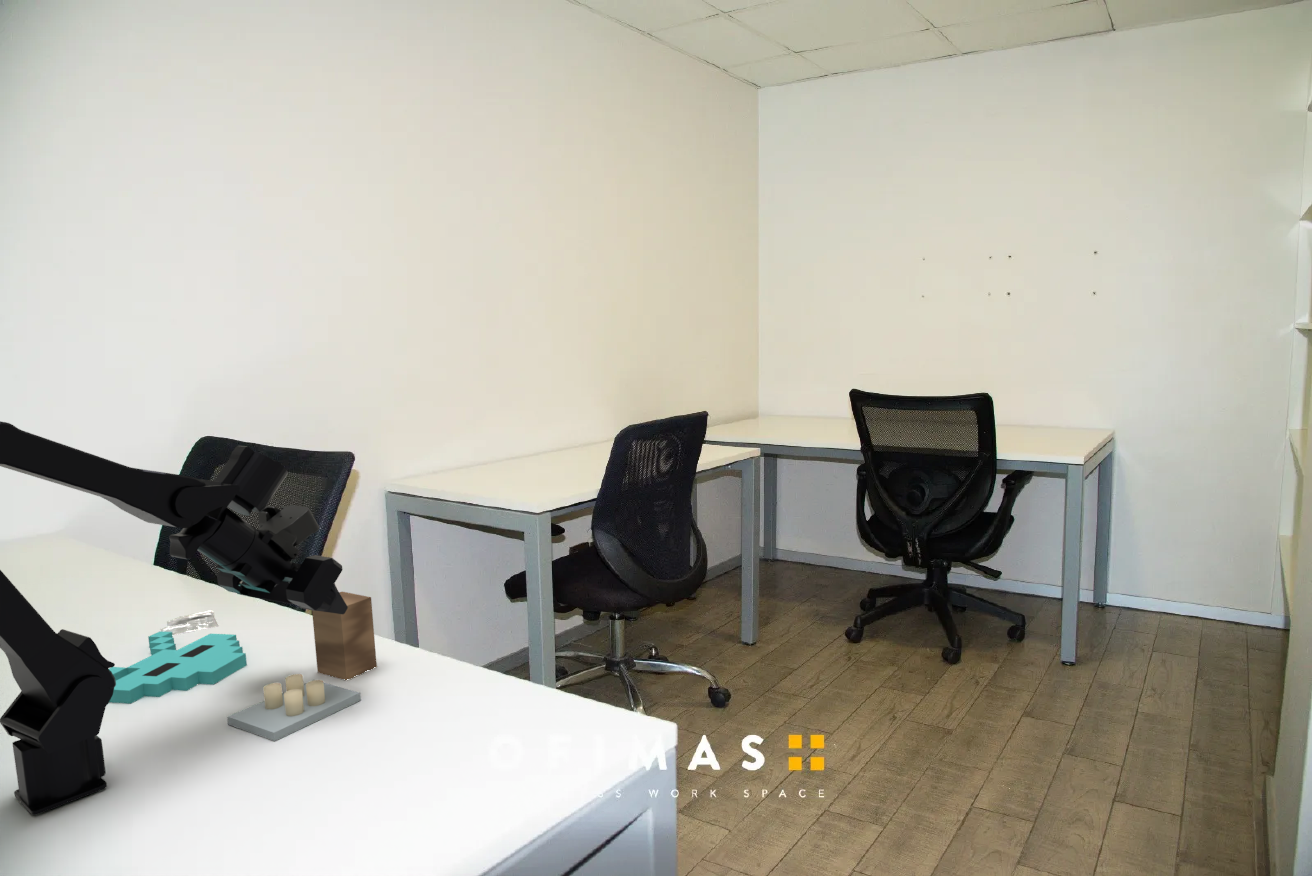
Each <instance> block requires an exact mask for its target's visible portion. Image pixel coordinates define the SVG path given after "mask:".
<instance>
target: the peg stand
mask: <svg viewBox="0 0 1312 876" xmlns="http://www.w3.org/2000/svg"><path fill="white" fill-rule="evenodd" d="M284 678H285V688H286V689H285V690H286V691H284V692H283V689H282V683H281V682H273V683H267V684H266V685H264V686H263V689H262V690H263V699H264V700H263V701H260V702H258V703H256V704H253V705H251V706H248V707H246V708H244V709H241V710H238V711H237V712H234V713H232V714H230V715H227V720H226V721H227V725H229V726H231V727H234V728H237V729H239V730H242V731H245V732H248V733H251V734H254V735H257V736H259V737H262V738H265V739H268V740H270V741H274V742H277V741H278V740H280V739H283V738H285V737H287V736H289V735H291V734H293V733H295V732H297V731H299V730H301V729H304V728H306V727H307V726H309V725H312V724H314V723H316V722H318V721H320V720H322V719H325V718H327V717H329V716H331V715H333V714H335V713H337V712H339V711H341V710H343V709H346V708H347V707H349V706H352V705H354V704H356V703H358V702H360V701H362V699H361V698H362V697H361V692H359V691H355V690H352V689H348V688H345V687H342V686H337V685H334V684H330V683H327V682H324V680H322V679H312V680H310V681H307V682H305V683H304V676H303V674H300V673H294V674H290V675H287V676H286V677H284ZM355 702H356V703H355Z"/></svg>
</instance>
